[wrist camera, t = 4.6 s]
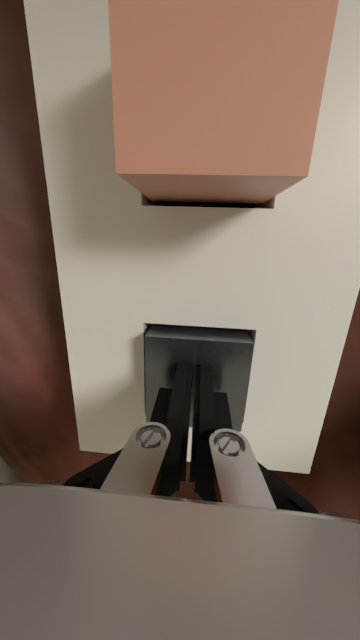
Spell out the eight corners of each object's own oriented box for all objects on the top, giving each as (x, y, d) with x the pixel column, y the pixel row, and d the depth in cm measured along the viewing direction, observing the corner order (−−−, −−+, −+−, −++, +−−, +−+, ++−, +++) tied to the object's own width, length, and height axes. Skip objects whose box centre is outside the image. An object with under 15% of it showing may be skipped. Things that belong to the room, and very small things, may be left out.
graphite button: (161, 307, 16) (145, 336, 11) (238, 312, 16) (253, 343, 11) (161, 374, 18) (145, 422, 13) (230, 379, 17) (241, 431, 13)
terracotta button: (151, 62, 10) (103, -107, 5) (280, 60, 9) (360, -125, 5) (152, 201, 11) (115, 173, 7) (262, 203, 11) (307, 176, 6)
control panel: (104, 408, 19) (80, 450, 15) (38, -415, 8) (-97, -958, 5) (287, 424, 18) (309, 473, 14) (482, -492, 7) (782, -1278, 4)
